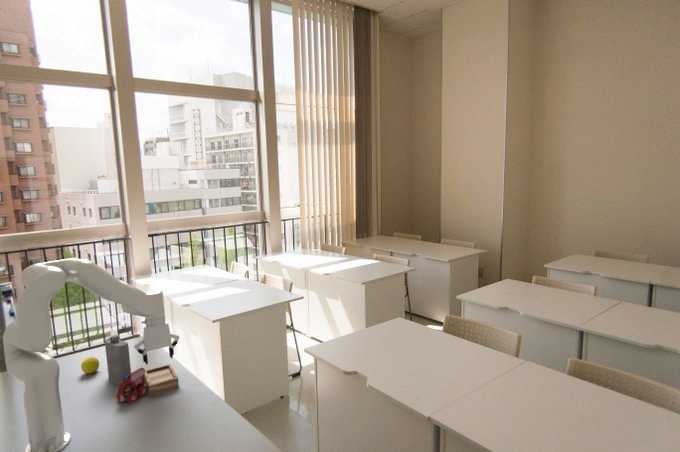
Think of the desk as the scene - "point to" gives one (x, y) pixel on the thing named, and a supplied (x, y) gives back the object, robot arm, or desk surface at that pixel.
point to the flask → (117, 359)
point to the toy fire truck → (132, 386)
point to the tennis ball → (90, 365)
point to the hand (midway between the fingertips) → (159, 360)
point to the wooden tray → (161, 379)
